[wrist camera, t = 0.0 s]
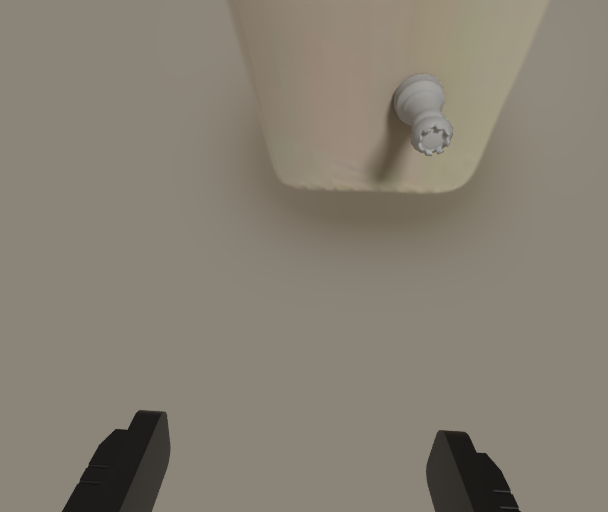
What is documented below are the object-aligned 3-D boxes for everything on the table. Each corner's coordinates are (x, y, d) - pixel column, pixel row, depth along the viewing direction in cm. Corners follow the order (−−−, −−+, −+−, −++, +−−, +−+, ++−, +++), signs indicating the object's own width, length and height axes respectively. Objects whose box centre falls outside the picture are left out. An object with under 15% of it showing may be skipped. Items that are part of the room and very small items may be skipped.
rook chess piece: (407, 64, 33) (424, 106, 28) (452, 81, 34) (476, 125, 29) (384, 110, 36) (394, 156, 31) (425, 125, 37) (442, 172, 32)
